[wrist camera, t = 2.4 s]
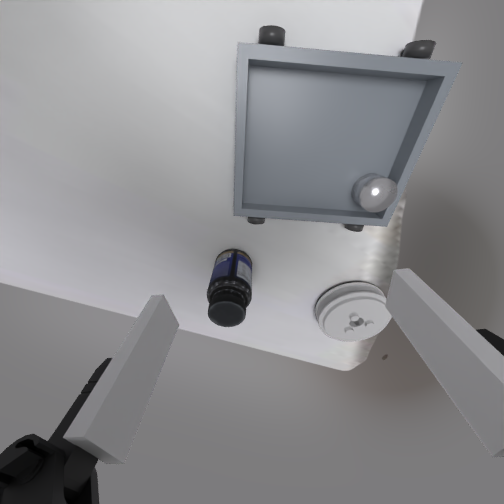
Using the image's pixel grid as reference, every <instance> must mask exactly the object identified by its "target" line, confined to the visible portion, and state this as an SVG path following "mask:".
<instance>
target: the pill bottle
mask: <svg viewBox="0 0 504 504" xmlns="http://www.w3.org/2000/svg"><path fill="white" fill-rule="evenodd" d="M251 295H252V262H251V259H250V258H249V256H248V255H247V254H246V253H244V252H242V251H240V250H227V251H224V252H222V253H221V254H219V256H218V257H217V259H216V262H215V266H214V269H213V273H212V276H211V280H210V283H209V287H208V291H207V298H208V301H209V303H210V304H209V308H208V316H209V318H210V320H211V321H212V322H214V323H215V324H217V325H219V326H223V327H232V326H236V325H238V324H240V323H241V322H242V321H243V320H244V319H245V315H246V307H247V306H248V305H249V304H250V301H251Z"/></svg>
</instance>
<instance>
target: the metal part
mask: <svg viewBox="0 0 504 504" xmlns="http://www.w3.org/2000/svg"><path fill="white" fill-rule="evenodd" d="M397 193H398V188H397V185H396V183H395V182H394V181H393V180H391V179H388V178H386V177H384V176H381V175H379V174H376V173H368V174H365V175H363V176H361V177H360V178H359V179H358V180H357V181H356V182H355V183H354V185H353V187H352V191H351V195H352V198H353V200H354V201H355V202H356V203H358V204H359V205H360V206H361V207H363V208H364V209H365V210H367V211H369V212H380V211H383V210H385V209H386V208H388V207H389V206H390V205H391V204H392V203H393V202H394V200H395V199H396V196H397Z"/></svg>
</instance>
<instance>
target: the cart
mask: <svg viewBox="0 0 504 504" xmlns="http://www.w3.org/2000/svg"><path fill="white" fill-rule="evenodd" d="M284 40H285V30H284V29H283V28H281V27H278V26H263V27H261V28H260V30H259V44H253V43H242V42H238V47H237V90H236V133H235V176H234V216H246V217H248V222H249V223H251V224H263V223H264V221H265V218H274V219H288V220H302V221H316V222H329V223H343V224H345V228H347V229H348V230H351V231H356V232H360V231H362V230H363V227H364V225H371V226H385V227H387V225H388V223H389V221H390V219H391V217H392V215H393V212H394V210H395V208H396V206H397V204H398V202H399V199H400V197H401V195H402V193H403V191H404V189H405V186H406V184H407V182H408V180H409V178H410V175H411V173H412V171H413V169H414V167H415V164H416V162H417V160H418V158H419V156H420V154H421V152H422V150H423V147H424V145H425V143H426V141H427V139H428V136H429V134H430V132H431V130H432V128H433V126H434V124H435V121H436V119H437V117H438V115H439V113H440V111H441V108H442V106H443V104H444V101H445V100H446V97H447V95H448V93H449V91H450V89H451V87H452V85H453V82H454V80H455V78H456V76H457V74H458V71H459V69H460V67H461V65H462V63H461V62H450V61H438V60H429V59H430V58H431V55H432V52H433V50H434V47H435V45H436V42H435V41H431V40H420V41H414V42H410V43H408V44H407V45H406V46H405V49H404V52H403V55H402V57H395V56H384V55H373V54H362V53H351V52H341V51H330V50H319V49H308V48H297V47H286V46H284ZM368 173H376V174H379V175H381V176H384V177H386V178H388V179H391V180H393V181H394V182H395V183H396V185H397V188H398V193H397V196H396V199H395V200H394V202H393V203H392V204H391V205H390V206H389V207H388V208H386V209H385V210H383V211H380V212H369V211H367V210H365V209H364V208H363V207H361V206H360V205H359V204H358V203H356V202H355V201H354V200H353V198H352V195H351V191H352V187H353V185H354V183H355V182H356V181H357V180H358V179H359V178H360V177H361V176H363V175H365V174H368Z"/></svg>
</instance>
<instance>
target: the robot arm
mask: <svg viewBox="0 0 504 504" xmlns="http://www.w3.org/2000/svg"><path fill="white" fill-rule="evenodd" d="M385 307H386V308H387V310H388V311H389V313H390V314H391V316H392V317H393V318H394V320H395V321H396V323H397V324H398V325H399V327H400V328H401V330H402V331H403V332H404V334H405V335H406V337H407V338H408V339H409V341H410V342H411V344H412V345H413V346H414V348H415V349H416V351H417V352H418V353H419V355H420V356H421V358H422V359H423V360H424V362H425V363H426V365H427V366H428V367H429V369H430V370H431V372H432V373H433V374H434V376H435V377H436V379H437V380H438V381H439V383H440V384H441V386H442V387H443V389H444V390H445V391H446V393H447V394H448V396H449V397H450V398H451V400H452V401H453V403H454V404H455V405H456V407H457V408H458V409H459V411H460V412H461V414H462V415H463V416H464V418H465V419H466V421H467V422H468V424H469V425H470V426H471V428H472V429H473V431H474V432H475V433H476V435H477V436H478V437H479V439H480V440H481V442H482V443H483V445H484V446H485V447H486V449H487V450H488V452H489V453H490V454H491V456H492V457H504V339H502V338H500V337H499V336H497V335H495V334H493V333H492V332H490V331H488V330H486V329H480V330H475V329H474V328H473V327H471V325H470V324H468V323H467V322H466V321H465V320H464V319H463V318H462V317H461V316H460V315H459V314H458V313H457V312H456V311H454V310H453V309H452V308H451V307H450V306H449V305H448V304H447V303H446V302H445V301H444V300H443V299H441V298H440V297H439V296H438V295H437V294H436V293H435V292H434V291H433V290H432V289H431V288H429V286H428V285H426V284H425V283H424V282H423V281H422V280H421V279H420V278H419V277H418V276H417V275H416V274H415V273H414V272H413V271H411V270H410V269H409V268H408V269H399V270H394V272H393V276H392V280H391V284H390V288H389V292H388V296H387V300H386V304H385ZM178 327H179V324H178V322H177V320H176V318H175V316H174V314H173V312H172V310H171V308H170V306H169V304H168V302H167V300H166V298H165V296H164V295H155V296H151V298H150V300H149V301H148V303H147V304H146V306H145V307H144V309H143V311H142V312H141V314H140V315H139V317H138V319H137V320H136V322H135V323H134V325H133V327H132V328H131V330H130V332H129V333H128V335H127V336H126V338H125V339H124V341H123V343H122V344H121V346H120V347H119V349H118V350H117V352H116V354H115V355H114V357H113V358H107V359H106V360H105V361H104V362H103V363H102V364H101V365H100V366H99V367H98V368H97V369H96V370H95V372H94V373H93V375H92V376H91V378H90V379H89V381H88V384H86V385H85V387H84V388H83V390H82V392H81V394H80V395H79V396H78V397H77V399H76V400H75V402H74V403H73V405H72V406H71V408H70V409H69V411H68V412H67V414H66V415H65V417H64V418H63V420H62V421H61V423H60V425H59V426H58V427H57V429H56V430H55V432H54V433H53V435H52V436H51V437H50V439H49V440H48V441H46V440H44V439H42V438H41V437H39V436H37V435H35V434H30V435H26V436H24V437H22V438H20V439H18V440H16V441H15V442H14V443H13V444H11V445H10V446H9V447H7V448H6V449H5V450H4V451H3V452H2V453H1V454H0V504H99V493H98V479H97V472H96V469H95V468H94V467H95V465H96V463H97V461H98V459H99V460H101V461H102V462H104V463H106V464H123V463H124V462H125V460H126V457H127V455H128V453H129V450H130V447H131V445H132V442H133V440H134V437H135V435H136V432H137V430H138V427H139V425H140V422H141V420H142V417H143V415H144V412H145V410H146V407H147V405H148V402H149V399H150V397H151V395H152V392H153V390H154V387H155V384H156V382H157V379H158V377H159V374H160V372H161V369H162V367H163V364H164V362H165V359H166V357H167V354H168V352H169V349H170V346H171V344H172V342H173V339H174V337H175V334H176V332H177V329H178Z"/></svg>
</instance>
